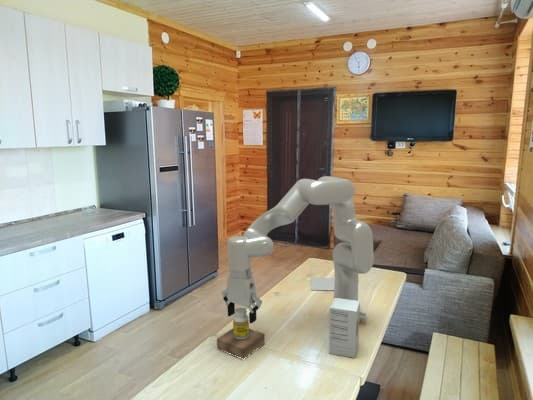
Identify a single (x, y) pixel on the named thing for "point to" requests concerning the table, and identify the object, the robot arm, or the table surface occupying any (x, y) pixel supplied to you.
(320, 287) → the paper stack
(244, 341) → the walnut stand
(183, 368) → the table surface
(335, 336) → the supplement box
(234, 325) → the supplement bottle
